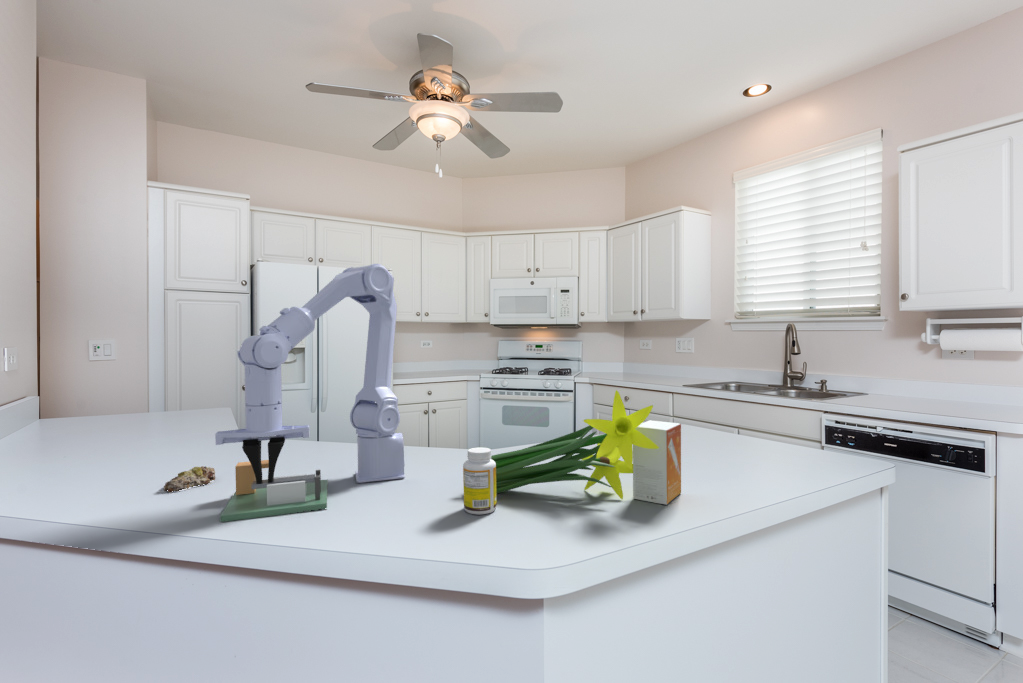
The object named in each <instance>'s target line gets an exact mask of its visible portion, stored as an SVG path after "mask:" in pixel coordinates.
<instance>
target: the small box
mask: <svg viewBox="0 0 1023 683" xmlns="http://www.w3.org/2000/svg"><path fill="white" fill-rule="evenodd" d="M635 430H637V431H639V432H640V433H642V434H643V435H645V436H646V437H647V438H649V439H650V440H651V441H652V442H654V443H655V444H656V445H657V446H658V447H659V448H658V449H648V448H642V447H639V446H636V445H633V444H632V450H633V462H632V464H633V473H632V474H633V475H632V498H633V499H635V500H639V501H643V502H649V503H654V504H660V505H668V504H669V503H670V502H671V501H673V500H674V499H676V497H678V496H679V495H681V494H682V424H681V423H678V422H669V421H660V420H651V419H650V420H647V421H643V422H642V423H641V424H640V425H639V426H638V427H637V428H636V429H635Z"/></svg>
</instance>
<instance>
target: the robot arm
mask: <svg viewBox="0 0 1023 683" xmlns="http://www.w3.org/2000/svg"><path fill="white" fill-rule="evenodd" d="M394 282H395V277H393V275H392V274H391V273H390V272H389V270H388V269H387V268H386V266H384V265H383V264H380V263H372V264H369V265H363V266H357V267H353V266H351V267H348V268H347V267H346V269H344V270H343V271H342V272H341V273H338V274H336V275H335V276H334V277H333V278H332V279H331V281H329V283H327V284H326V285H325V286H324V287H322V288H321V290H319V291H318V292H317V293H316V294H315V295H314V296H313V297H312V298H310V299H309V300H308V301H307V302H306V303H305V304H304V305H303V306H302V307H300V306H291V307H284V308H282V309H281V310H279V314H280V316H278V317H277V318H275V319H274V320H273V321H272V322H270V323H269V324H268V325H262V326H261V327H260V328H259V331H260V332H259V334H256V335H251V336H248V337H246V338H245V339H244V340H243V341H242V343H241V346H240V347H239V350H238V351H237V357H238V359H239V361H240V363H241V364H242V365H243V366H244V401H245V402H244V407H245V408H244V410H245V412H244V413H245V415H244V416H245V428H240V429H239V428H238V429H231V430H222V431H221V430H220V431H216V433H215V435H214V436H215V445H216V446H219V445H224V444H232V443H233V444H235V443H236V444H237V443H242V447H241V448H242V451H243V452H244V454H245V455H246V457H247V459H248V462H250V463H251V465H252V468H253V471H254V474H255V477H256V483H257V484H261V482H262V480H263V468H262V466H261V460H262V441H268V442H267V453H268V454H267V455H268V460H269V468H267V469H268V470H267V479H268V483H270V482H273V479H274V476H275V469H276V465H277V462H278V459H279V456H280V454H281V452H282V449H283V448H284V445H285V442H286V440H287V439H298V438H303V439H305V438H306V439H307V438H310V435H311V434H310V424H306V425H305V424H303V425H283V397H282V396H283V392H282V391H283V390H282V388H283V387H282V365H283V364H284V363H286V361H287V359H288V358H289V357H288V356H289V352H291V350H293V349H294V348H295V347H296V346H297V345H298V344H300V343H302V341H303V340H304V339H305V338H307V337H308V336H309V335H311V333H312V332H314V330H315V329H316V320H317V319H319V318H321V317H322V316H323V315H324V314H325V313H327V312H328V311H329V310H331V309H333V307H335V306H336V305H338V304H339V303H340V302H341V301H343V300H344V299H345V298H350V299H352V300H353V301H355V302H356V303H358V304H360V305H361V306H362V307H363V308H364V309H365V310H366V311H367V312H368V313H369V320H368V330H367V342H366V354H365V364H364V375H363V376H364V377H363V386H362V388H361V389H360V390H359V392H357V394H356V395H355V401H354V404H353V406H352V407H351V410H350V414H349V420H350V423H351V425H352V427H353V428H354V429H355V433H356V434H355V435H356V440H357V441H356V442H357V470H355V473H354V474H355V479H356V480H355V481H356V483H358V484H360V483H369V482H370V483H371V482H379V481H388V480H398V479H405V477H406V476H405V465H406V464H405V451H404V449H405V444H404V437H403V436H404V435H403V433H402V432H395V431H396V430H397V429H398V427H399V425H400V421H401V414H400V411H399V410H400V409H399V407H398V405H399V404H398V403H399V402H398V401H399V399H398V396H396V395H395V393H394V392H393V391H392V389H391V382H392V381H391V380H392V372H393V371H392V370H393V361H394V360H393V357H394V347H395V346H394V345H395V335H396V323H397V310H398V309H397V308H398V305H397V301H396V296H395V293H394V285H395V284H394Z"/></svg>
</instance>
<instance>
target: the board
mask: <svg viewBox="0 0 1023 683" xmlns="http://www.w3.org/2000/svg"><path fill="white" fill-rule="evenodd" d="M317 473H319V474H320V476H316V474H317ZM321 473H322V472H321V469H316V470H315V482H313V483H305V481H296V482H287V483H277V484H267V488H261V489H256V491H255V493H251V494H242V495H236V491H235V492H234V493H233V495H232V497H231V498H230V500H229V501H228V503H227V505H226V506H225V508H224V509H223V511H222V512H221V514H220V517H219V518H220V523H223V522H232V521H241V520H248V519H257V518H264V517H273V516H281V515H283V516H284V515H291V514H298V513H297V512H299V513H304V512H303V511H307V512H312V511H311V510H315V511H319V510H318V509H324V510H326V509H325V508H328V489H327V488H328V486H329V485H328V484H329V483H328V481H329V480H328V479H321ZM303 475H307V473H305V474H297V475H296V474H295V475H287V476H284V475H283V476H277V477H274V479H275V478H284V477H294V476H303ZM290 513H291V514H290Z"/></svg>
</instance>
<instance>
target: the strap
mask: <svg viewBox="0 0 1023 683" xmlns="http://www.w3.org/2000/svg"><path fill="white" fill-rule="evenodd" d="M302 475H303V476H294V475H293V476H294V477H284V476H283V477H284V478H275V479H273V482H270V483H268V478H266V479H262V482H261V484H257V483H256V481H253V483H252V485H251V487H252V489H261V488H267V484H277V483H287V482H296V481H305V483H313V482H315V476H320V474H319V473H317V474H316V473H311V474H306V475H304V474H302Z"/></svg>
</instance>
